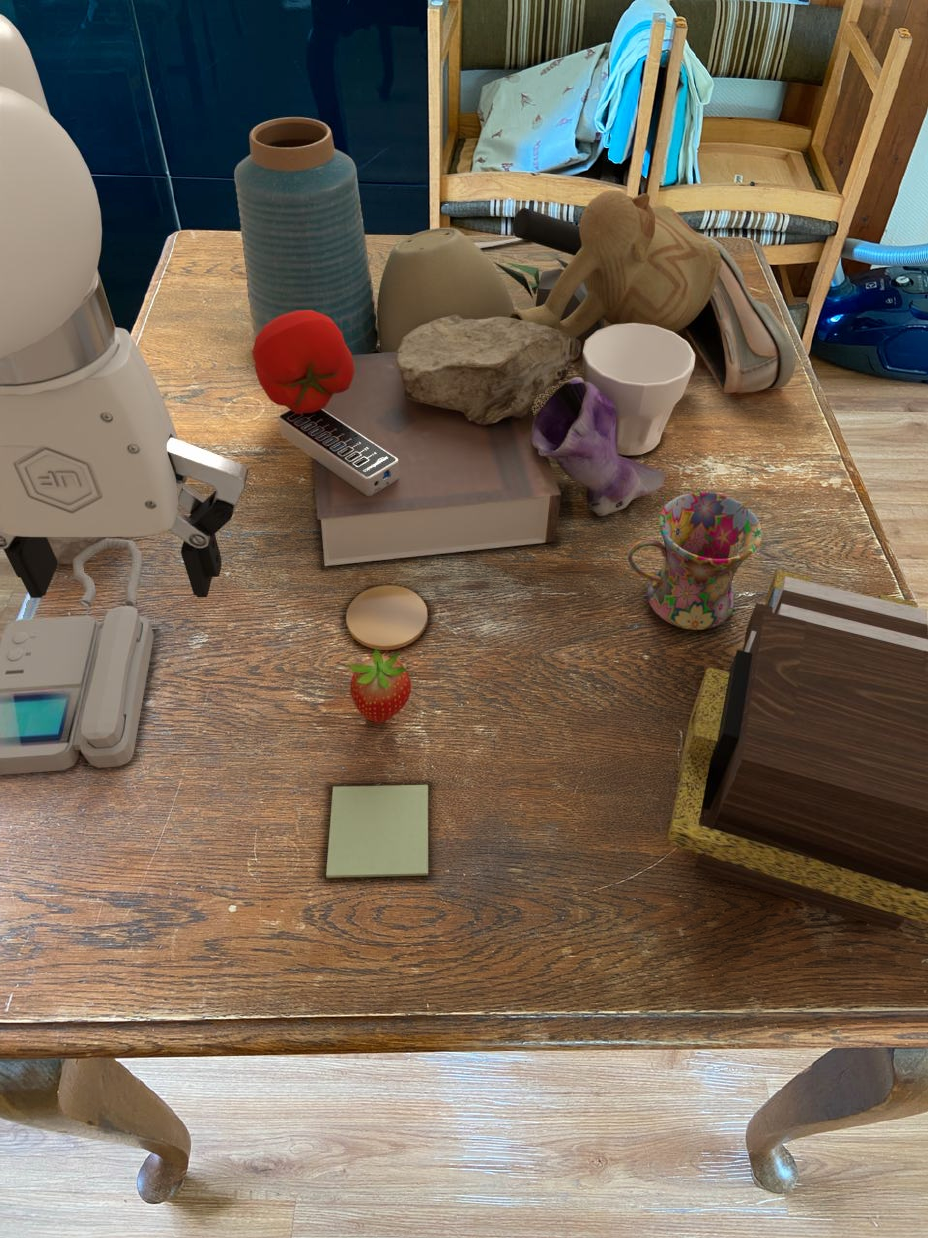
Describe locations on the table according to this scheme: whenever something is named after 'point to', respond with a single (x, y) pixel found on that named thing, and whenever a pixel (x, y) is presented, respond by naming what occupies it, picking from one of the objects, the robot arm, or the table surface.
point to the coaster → (386, 617)
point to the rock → (483, 365)
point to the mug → (699, 558)
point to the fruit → (380, 687)
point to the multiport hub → (340, 450)
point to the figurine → (591, 447)
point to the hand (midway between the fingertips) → (125, 581)
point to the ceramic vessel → (632, 269)
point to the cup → (638, 379)
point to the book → (432, 477)
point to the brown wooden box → (816, 755)
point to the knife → (495, 242)
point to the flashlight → (547, 231)
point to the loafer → (741, 335)
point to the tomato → (302, 361)
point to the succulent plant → (545, 288)
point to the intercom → (75, 680)
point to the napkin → (378, 831)
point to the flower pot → (436, 284)
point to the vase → (304, 230)
